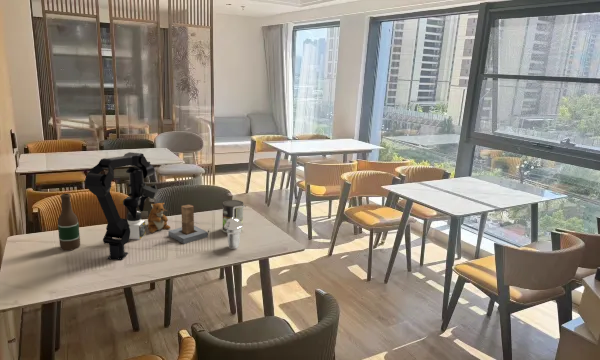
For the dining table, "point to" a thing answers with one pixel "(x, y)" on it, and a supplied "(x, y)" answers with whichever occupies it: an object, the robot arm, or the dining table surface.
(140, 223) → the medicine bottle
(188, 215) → the peg
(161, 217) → the stuffed squirrel
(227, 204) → the coffee can
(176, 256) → the dining table surface
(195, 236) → the socket
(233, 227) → the cup with straw
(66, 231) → the beer bottle
